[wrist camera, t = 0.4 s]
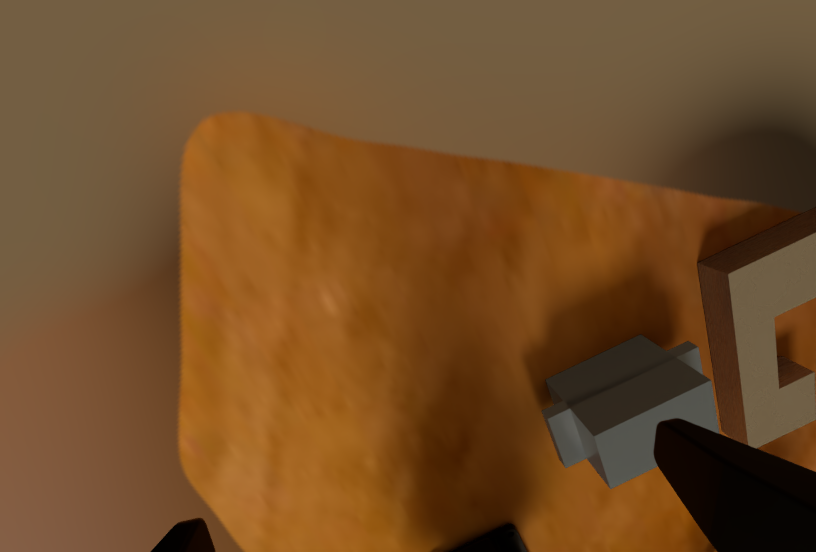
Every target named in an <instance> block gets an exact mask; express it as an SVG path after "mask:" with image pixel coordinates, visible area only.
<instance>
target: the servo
mask: <svg viewBox="0 0 816 552" xmlns="http://www.w3.org/2000/svg"><path fill="white" fill-rule="evenodd" d="M545 381H546V384H547V386H548V389H549V392H550V395H551V398H552V401H553V403H554V405H553V406H551V407H549V408H547V409H545V410H542V414H543V417H544V419H545V422H546V425H547V427H548V430H549V433H550V435H551V438H552V441H553V443H554V446H555V449H556V451H557V454H558V457H559V459H560V461H561V462H562V464H563V465H564V467H565V468H567V467H569V466H571V465H573V464H576V463H578V462H580V461H582V460H584V459H586V458H587V460H588V461H589V462H590V463H591V465H592V466H593V467H594V469H595V470H596V471H597V472H598V474H599V475H600V476H601V478H602V479H603V480H604V481H605V483H606V484H607V485H608V487H609V488H610V489H612V488H614V487H616V486H618V485H620V484H622V483H624V482H626V481H628V480H630V479H632V478H635V477H637V476H639V475H641V474H643V473H645V472H647V471H649V470H651V469H653V468H655V467H657V466H658V465H657V464H656V461H655V459H654V454H653V450H654V442H655V434H656V427H657V424H658V423H659V422H660V421H664V420H669V419H673V418H680V419H683V420H686V421H688V422H691V423H693V424H696V425H698V426H701V427H703V428H706V429H708V430H711V431H713V432H716V433H719V429H718V422H717V415H716V409H715V402H714V396H713V389H712V383H711V380H710V379H708V378H707V377H705V376H704V375H703V373H702V367H701V360H700V354H699V348H698V347H697V346H696V345H694V344H692V343H691V342H689V341H687V342H685V343H683V344H681V345H678V346H676V347H674V348H672V349H670V350H668V351H666V350H664V349H662V348H661V347H659V346H658V345H656V344H655V343H653V342H652V341H650V340H649V339H647V338H646V337H644V336H643V335H641V334H640V335H638V336H636V337H634V338H632V339H630V340H628V341H625V342H623V343H621V344H619V345H617V346H615V347H613V348H611V349H609V350H607V351H604V352H602V353H600V354H598V355H596V356H594V357H592V358H590V359H588V360H586V361H583V362H581V363H579V364H577V365H575V366H573V367H571V368H569V369H567V370H565V371H562V372H560V373H558V374H556V375H554V376H552V377H550V378H548V379H546V380H545Z"/></svg>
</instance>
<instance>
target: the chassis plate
mask: <svg viewBox="0 0 816 552" xmlns="http://www.w3.org/2000/svg"><path fill="white" fill-rule="evenodd" d="M697 265H698V271H699V278H700V285H701V291H702V298H703V305H704V312H705V318H706V325H707V332H708V339H709V345H710V352H711V359H712V365H713V372H714V379H715V386H716V392H717V399H718V406H719V413H720V419H721V426H722V431H723V432H724V433H725V434H726V435H728V436H729V437H730V438H732V439H734V440H736V441H739V442H741V443H744V444H746V445H749V446H751V447H754V448H758V447H760V446H762V445H764V444H766V443H768V442H770V441H773V440H775V439H777V438H779V437H781V436H783V435H785V434H787V433H789V432H791V431H793V430H795V429H797V428H800V427H802V426H804V425H806V424H808V423H810V422H812V421H814V420H816V406H815V372H813V371H811V370H809V369H807V368H805V367H803V366H801V365H799V364H797V363H795V362H793V361H791V360H789V359H787V358H785V357H783V356H781V357H778V358H777V351H776V337H775V323H774V317H776V316H778V315H780V314H782V313H784V312H786V311H788V310H790V309H792V308H795V307H797V306H799V305H801V304H803V303H805V302H807V301H809V300H811V299H813V298H815V297H816V207H815V208H813V209H811V210H809V211H806V212H804V213H802V214H800V215H798V216H796V217H794V218H792V219H789V220H787V221H785V222H783V223H781V224H779V225H777V226H775V227H773V228H770V229H768V230H766V231H764V232H762V233H760V234H758V235H756V236H754V237H751V238H749V239H747V240H745V241H743V242H741V243H739V244H737V245H735V246H732V247H730V248H728V249H726V250H724V251H722V252H720V253H718V254H716V255H713V256H711V257H709V258H707V259H705V260H703V261H701V262H699V263H697Z"/></svg>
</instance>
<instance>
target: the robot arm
mask: <svg viewBox="0 0 816 552" xmlns="http://www.w3.org/2000/svg"><path fill="white" fill-rule="evenodd" d="M653 454H654V459H655V461H656V464H657V465H658V467H659V469H660V470H661V471H662V473H663V474H664V476H665V477H666V479H667V480H668V482H669V483H670V485H671V486H672V488H673V489H674V491H675V492H676V494H677V495H678V496H679V498H680V499H681V501H682V502H683V504H684V505H685V507H686V508H687V510H688V511H689V513H690V514H691V516H692V517H693V518H694V520H695V521H696V523H697V524H698V526H699V527H700V529H701V530H702V531H703V533H704V534H705V536H706V537H707V538H708V540H709V541H710V542H711V544H712V545H713V546H714V548H715V549H716V550H717V551H718V552H816V472H814V471H812V470H809V469H807V468H804V467H802V466H799V465H797V464H794V463H792V462H789V461H787V460H784V459H782V458H779V457H777V456H774V455H772V454H769V453H766V452H764V451H761V450H759V449H756V448H754V447H751V446H749V445H746V444H744V443H741V442H739V441H736V440H734V439H731V438H729V437H726V436H724V435H721V434H719V433H716V432H713V431H711V430H708V429H706V428H703V427H701V426H698V425H696V424H693V423H691V422H688V421H686V420H683V419H680V418H673V419H669V420H664V421H660V422H659V423H658V424H657V427H656V434H655V442H654V450H653ZM151 552H215V548H214V545H213V542H212V539H211V536H210V534H209V531H208V528H207V525H206V523H205V521H204V520H203V519H202V518H195V519H191V520H186V521H181V522H179V523H177V524H176V525H175V526H174V527H173V528H172V529H171V530H170V531H169V532H168V533H167V534H166V535H165V536H164V538H163V539H162V540H161V541H160V542H159V543H158V544H157V545H156V546H155V547H154V549H153V550H152V551H151ZM451 552H527V551H526V549H525V547H524V544H523V542H522V540H521V538H520V536H519V534H518V532H517V530H516V528H515V526H514V525H513V524H507V525H505V526H503V527H500V528H498V529H496V530H494V531H492V532H490V533H488V534H486V535H484V536H482V537H480V538H478V539H475V540H473V541H471V542H469V543H467V544H465V545H463V546H461V547H459V548H457V549H455V550H453V551H451Z"/></svg>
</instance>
